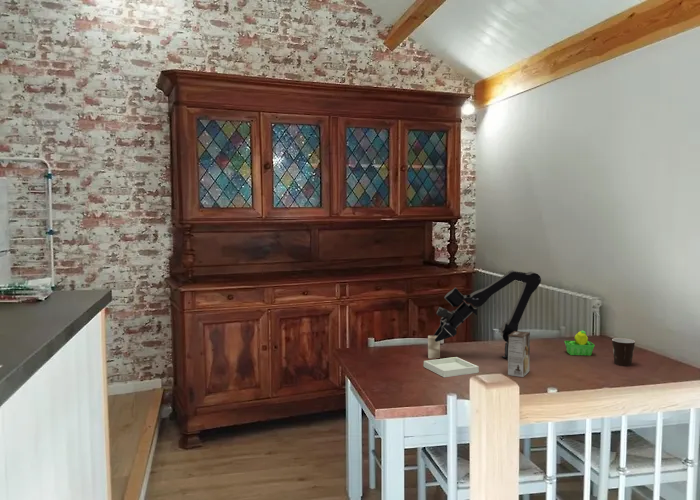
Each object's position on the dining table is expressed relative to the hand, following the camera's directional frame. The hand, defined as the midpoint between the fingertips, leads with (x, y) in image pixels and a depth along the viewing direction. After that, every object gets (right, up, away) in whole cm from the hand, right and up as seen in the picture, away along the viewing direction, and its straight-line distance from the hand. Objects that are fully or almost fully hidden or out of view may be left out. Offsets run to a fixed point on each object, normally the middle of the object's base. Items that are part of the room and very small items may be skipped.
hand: (434, 338), depth 244 cm
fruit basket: (+65, -8, +3) cm, 66 cm away
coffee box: (+29, -10, -25) cm, 40 cm away
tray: (+3, -10, -19) cm, 22 cm away
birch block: (0, -8, +1) cm, 8 cm away
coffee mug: (+76, -9, -14) cm, 77 cm away
